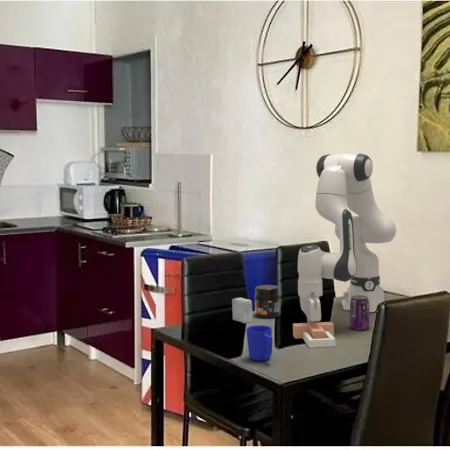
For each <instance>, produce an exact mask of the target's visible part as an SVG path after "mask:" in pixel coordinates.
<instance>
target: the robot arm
mask: <svg viewBox="0 0 450 450" xmlns="http://www.w3.org/2000/svg"><path fill="white" fill-rule="evenodd" d="M315 167H316V169H315V170H316V174H317V176H318V183H317V187H316V188H317V189H316V195H315V204H314V205H315V209H316V212H317V214H319V216H321V218H323V219H325V220H327V221H328V222H331V223H332V224H334V234H335V236H336V237H337V238H338V240H339V252H338V253H335V252H328V251H327V252H325V251H323V250H321V248H320V246H319V245H316V244H307V245H304V246H302V247H301V248H299V251H298V256H297V273H298V280H297V295H298V296H299V303H300V308H301V311H302V312H303V313H304V314H305V315H306V320H307V323H315V322H321V320H322V311H321V310H322V308H321V301H320V297H322V296H323V279H328V280H329V279H330V280H335V281H340V282H344V283H347V282H349V283H350V284H349V286H348V288H347V289H346V291H343V294H342V295H343V298H345V299H342V300H341V302H342V303H341V307H342V306H343V307H342V309H344V311H350V301H351V299H352V298H351V297H352V296H355V295H363V296H367V297H368V300H369V307H370V313H374V312H375V311H376V307H377V305H378V304H379V303H381V302H383V301H384V302H385V297H384V296H385V294H384V293H385V292H384V288H382V287H381V285H380V284H381V277H380V273H379V272H380V271H379V268H380V264H379V263H380V261H379V257H378V255H377V254H376V253H375V252H373V251H371V250H370V249H369V248H368V246H367V244H378V245H379V244H385V243H390V242H391V241H392V240H394V239H395V237H396V234H397V226H396V224H395V222H394V221H393V220H392V219H391V218H389V217H388V216H387V215H385V214H384V213H383V212H382V211H381V209H380V208H379V206H378V205H377V203H376V199H375V196H374V192H373V187H372V181H371V177H372V174H373V168H374V165H373V160H372V159H371V158H370V156H369V155H367V154H364V153H349V152H348V153H347V152H346V153H345V152H343V153H335V154H329V153H327V154H323V155H322V156H320V157H319V158H318V160H317V162H316V166H315ZM351 212H352V213H354V214H356V216H355V215H352V213H351ZM357 215H358V216H357ZM375 313H376V312H375Z"/></svg>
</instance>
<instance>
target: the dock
mask: <svg viewBox="0 0 450 450" xmlns="http://www.w3.org/2000/svg"><path fill="white" fill-rule="evenodd" d="M302 339H303V340H304V342H305V344H306V345H307V347H308V348H310V349H312V348H313V349H314V348H328V347H329V348H330V347H336V338H335V336H334V337H333V336H332V335H331V334H330V333H329V331H325V338H324V339H312V337H311V336H310V335H309V334H308V332H303V338H302Z"/></svg>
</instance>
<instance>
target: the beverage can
mask: <svg viewBox="0 0 450 450" xmlns="http://www.w3.org/2000/svg"><path fill="white" fill-rule="evenodd" d="M351 298H352V299H351V301H350V310H349V312H350V313H349V325H350V326H349V327H350V328H351V329H353V330H356V331H365V330H367V329H369V328H370V322H371V321H370V316H371V315H370V313H371V312H370V307H369V300H368V297H367V296H363V295H355V296H352V297H351Z"/></svg>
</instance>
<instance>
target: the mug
mask: <svg viewBox="0 0 450 450" xmlns="http://www.w3.org/2000/svg"><path fill="white" fill-rule="evenodd" d="M272 330H273V329H272V327H271V326H269V325H265V324H263V325H262V324H261V325H260V324H259V325H256V324H255V325H251V326H248V327H247V328H246V339H247V348H248V349H247V351H248V356H249V359H251V360H252V359H253V360H252V361H255V360H258V362H263V360H264V361H267V360H269V359H271V357H272V353H273V336H272V334H273V331H272Z"/></svg>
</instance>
